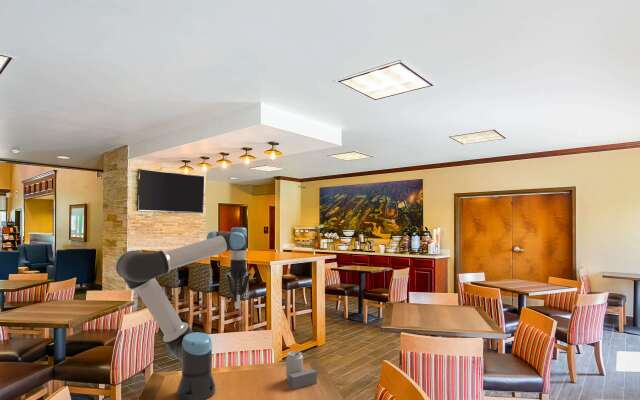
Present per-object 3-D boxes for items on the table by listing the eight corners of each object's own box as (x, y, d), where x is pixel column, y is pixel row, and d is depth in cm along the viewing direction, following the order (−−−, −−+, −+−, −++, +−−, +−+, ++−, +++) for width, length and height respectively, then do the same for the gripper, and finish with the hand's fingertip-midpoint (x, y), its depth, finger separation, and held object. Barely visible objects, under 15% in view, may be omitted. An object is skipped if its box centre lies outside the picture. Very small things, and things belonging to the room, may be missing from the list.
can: (302, 383, 174) (302, 355, 174) (285, 383, 174) (285, 355, 175) (303, 377, 181) (303, 350, 182) (287, 376, 182) (287, 350, 182)
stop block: (293, 389, 168) (293, 377, 168) (288, 386, 171) (288, 374, 171) (316, 383, 174) (316, 371, 175) (311, 380, 178) (311, 368, 178)
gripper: (247, 258, 201) (246, 305, 199) (222, 259, 193) (221, 308, 192) (253, 259, 194) (252, 308, 193) (228, 260, 187) (227, 311, 186)
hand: (237, 308), depth 192 cm, fingers closed
